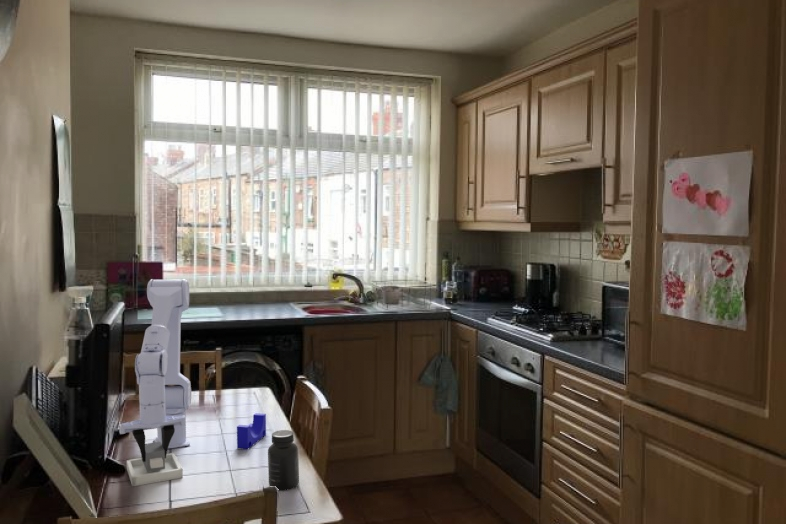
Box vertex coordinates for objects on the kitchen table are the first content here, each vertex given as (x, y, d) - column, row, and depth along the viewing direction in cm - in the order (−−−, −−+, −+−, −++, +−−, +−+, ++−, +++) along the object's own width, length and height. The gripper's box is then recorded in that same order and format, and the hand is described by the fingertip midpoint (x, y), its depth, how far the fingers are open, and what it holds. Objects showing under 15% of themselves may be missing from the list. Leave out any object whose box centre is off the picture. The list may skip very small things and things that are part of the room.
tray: (126, 468, 159) (126, 460, 159) (174, 460, 164) (174, 452, 164) (132, 486, 149) (131, 477, 149) (182, 477, 154) (182, 469, 154)
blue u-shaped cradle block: (250, 433, 185) (250, 412, 185) (266, 435, 184) (265, 413, 184) (231, 448, 174) (231, 426, 173) (247, 449, 173) (247, 427, 172)
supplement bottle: (285, 476, 154) (284, 426, 153) (305, 484, 150) (304, 432, 149) (262, 486, 149) (261, 433, 148) (282, 494, 144) (281, 440, 144)
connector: (143, 462, 159) (142, 444, 159) (160, 459, 161) (160, 441, 161) (148, 475, 151) (147, 456, 150) (166, 472, 152) (166, 453, 152)
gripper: (120, 410, 148) (122, 469, 149) (187, 402, 155) (188, 459, 156) (117, 402, 155) (119, 459, 156) (182, 395, 161) (183, 449, 162)
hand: (153, 458), depth 156 cm, fingers closed on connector, 4 cm apart
